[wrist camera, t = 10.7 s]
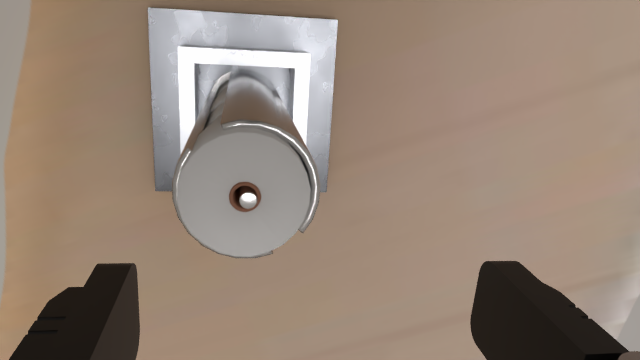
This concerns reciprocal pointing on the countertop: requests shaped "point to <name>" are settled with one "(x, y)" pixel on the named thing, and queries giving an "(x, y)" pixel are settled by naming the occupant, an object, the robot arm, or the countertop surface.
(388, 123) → the countertop surface
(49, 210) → the countertop surface
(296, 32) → the board
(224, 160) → the silver metal cylinder
